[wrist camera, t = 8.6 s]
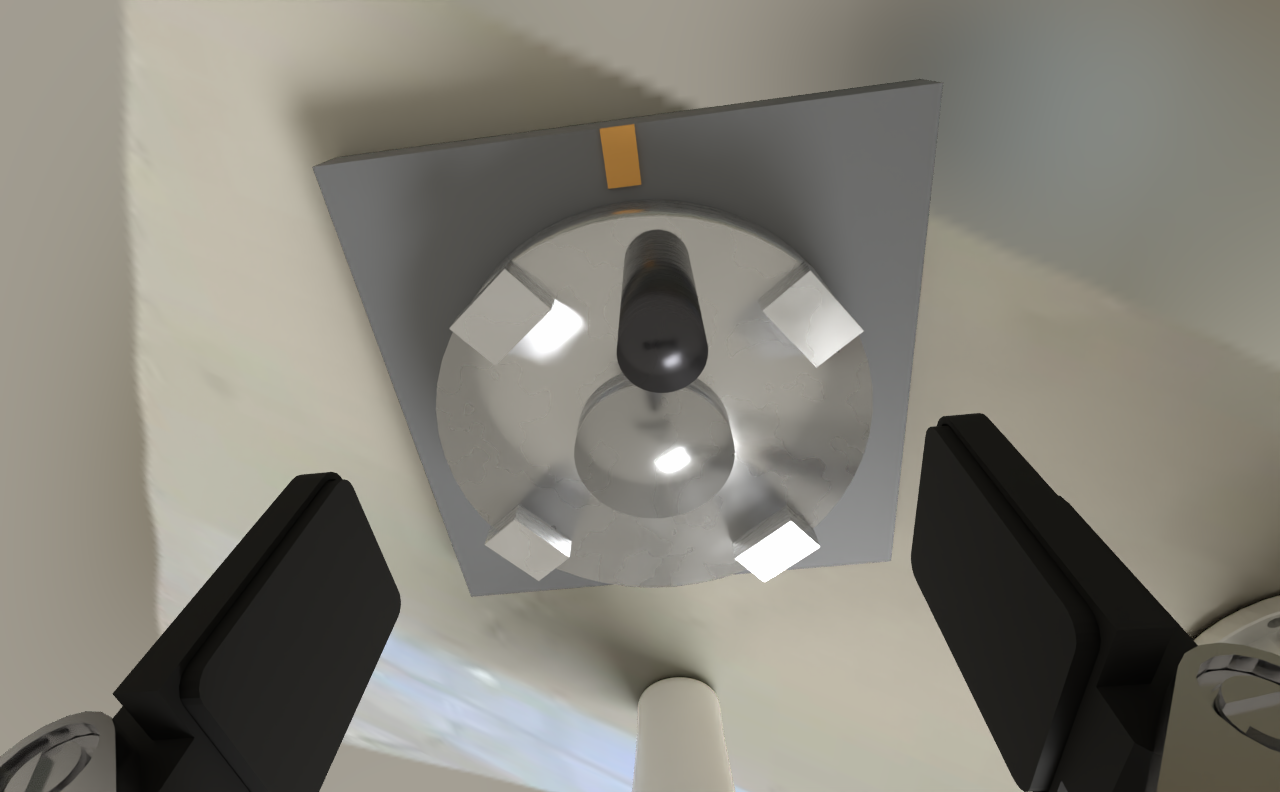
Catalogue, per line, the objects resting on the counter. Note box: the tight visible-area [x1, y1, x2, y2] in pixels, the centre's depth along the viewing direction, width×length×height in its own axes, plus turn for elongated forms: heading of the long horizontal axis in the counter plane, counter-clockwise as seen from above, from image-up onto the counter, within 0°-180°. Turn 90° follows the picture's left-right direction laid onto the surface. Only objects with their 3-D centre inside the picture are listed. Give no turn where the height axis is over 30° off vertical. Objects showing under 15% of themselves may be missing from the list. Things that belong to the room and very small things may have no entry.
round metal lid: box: [436, 200, 873, 588], centre depth 22 cm, size 17×17×10 cm
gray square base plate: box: [313, 79, 943, 597], centre depth 28 cm, size 22×22×2 cm
